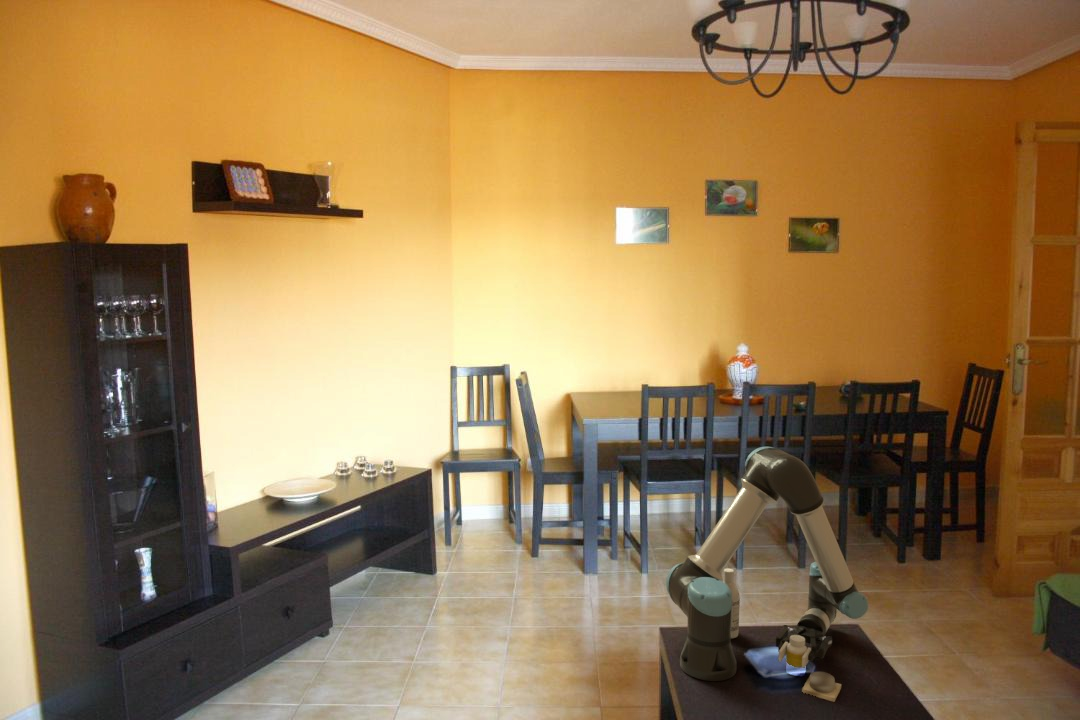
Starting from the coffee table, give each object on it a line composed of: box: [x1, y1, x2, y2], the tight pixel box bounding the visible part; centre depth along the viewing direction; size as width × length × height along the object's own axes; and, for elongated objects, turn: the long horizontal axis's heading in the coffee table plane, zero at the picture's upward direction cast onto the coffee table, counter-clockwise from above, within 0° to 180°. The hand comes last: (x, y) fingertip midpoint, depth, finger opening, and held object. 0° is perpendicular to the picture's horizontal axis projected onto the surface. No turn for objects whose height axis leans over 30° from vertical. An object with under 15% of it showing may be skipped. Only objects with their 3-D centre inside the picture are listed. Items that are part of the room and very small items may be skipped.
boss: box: [801, 671, 842, 703], centre depth 199 cm, size 8×8×4 cm
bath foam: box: [722, 568, 741, 640], centre depth 229 cm, size 7×7×20 cm
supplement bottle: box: [785, 634, 808, 667], centre depth 208 cm, size 5×5×10 cm
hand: (791, 659), depth 203 cm, fingers closed on supplement bottle, 5 cm apart
